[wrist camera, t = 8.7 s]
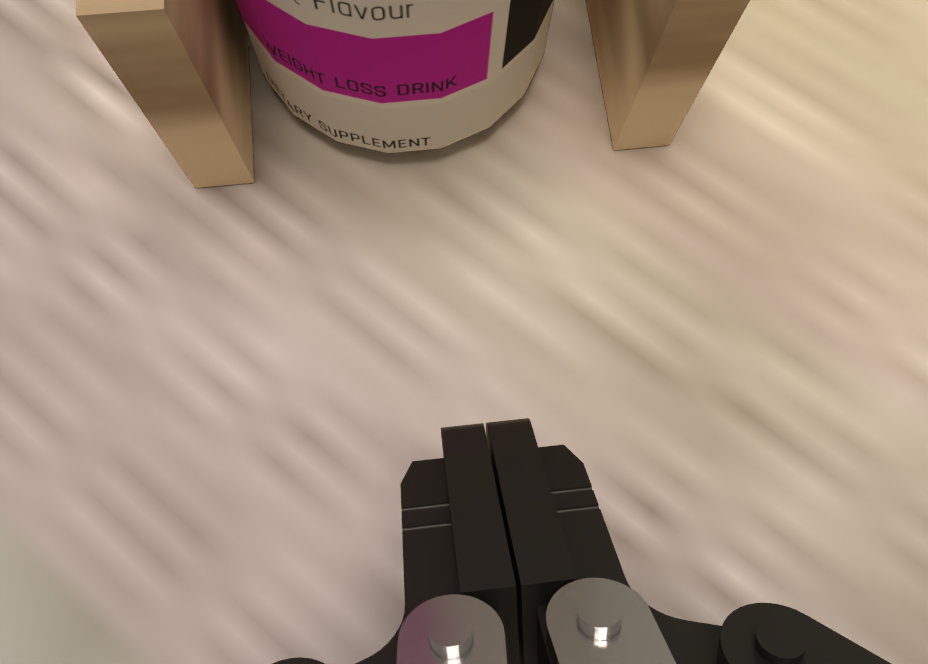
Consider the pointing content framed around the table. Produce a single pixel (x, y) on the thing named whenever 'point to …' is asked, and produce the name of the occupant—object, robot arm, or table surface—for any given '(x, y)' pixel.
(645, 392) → the table surface
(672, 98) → the cradle
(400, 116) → the supplement can
